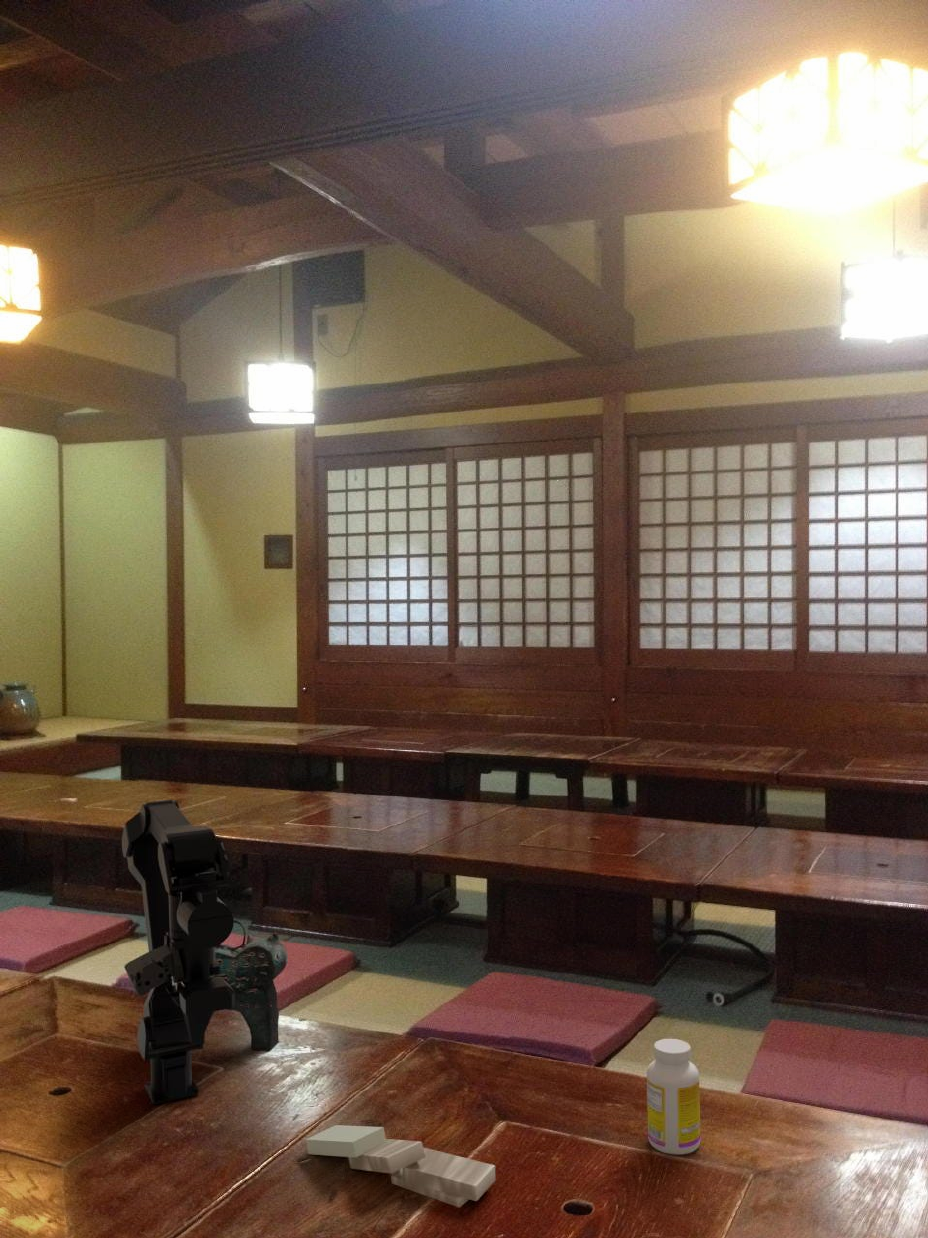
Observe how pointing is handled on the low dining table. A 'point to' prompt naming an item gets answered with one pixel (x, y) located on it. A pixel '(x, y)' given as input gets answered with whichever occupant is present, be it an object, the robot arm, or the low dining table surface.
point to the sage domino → (346, 1141)
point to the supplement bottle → (673, 1099)
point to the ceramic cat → (254, 984)
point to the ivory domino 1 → (389, 1156)
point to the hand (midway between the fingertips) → (195, 1043)
